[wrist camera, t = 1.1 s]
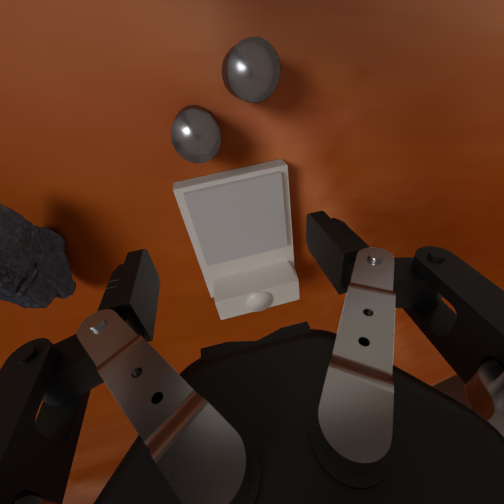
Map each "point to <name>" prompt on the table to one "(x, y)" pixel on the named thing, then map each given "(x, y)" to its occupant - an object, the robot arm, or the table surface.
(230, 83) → the grey glossy egg shape
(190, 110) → the cylinder
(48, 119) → the table surface
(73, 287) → the stone
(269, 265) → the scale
